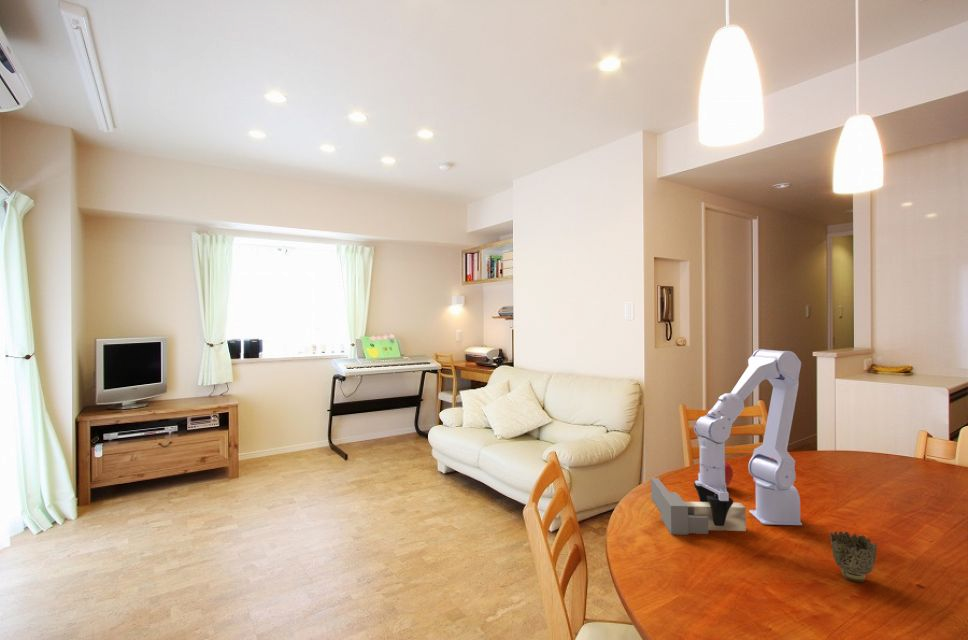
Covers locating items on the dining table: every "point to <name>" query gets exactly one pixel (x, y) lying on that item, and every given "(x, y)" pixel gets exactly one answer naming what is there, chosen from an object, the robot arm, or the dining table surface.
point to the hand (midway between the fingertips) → (712, 518)
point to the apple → (728, 474)
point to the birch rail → (733, 518)
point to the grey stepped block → (676, 511)
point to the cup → (853, 555)
